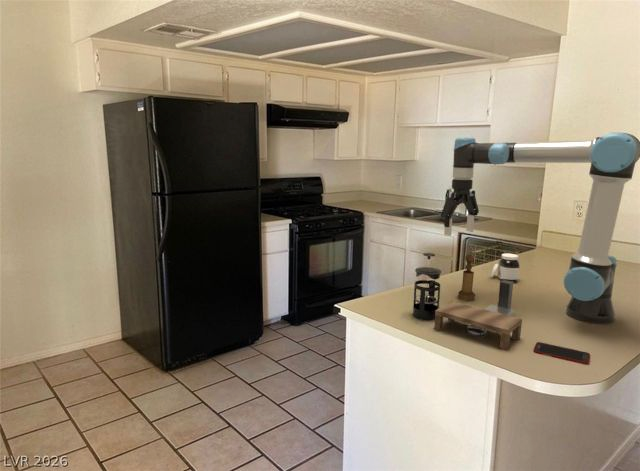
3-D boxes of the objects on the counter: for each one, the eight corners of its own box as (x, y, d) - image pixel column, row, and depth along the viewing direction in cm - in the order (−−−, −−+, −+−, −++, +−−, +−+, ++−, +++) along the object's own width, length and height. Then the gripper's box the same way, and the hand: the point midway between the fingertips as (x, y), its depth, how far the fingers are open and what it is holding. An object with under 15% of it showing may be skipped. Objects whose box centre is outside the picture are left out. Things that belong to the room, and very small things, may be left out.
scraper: (516, 314, 171) (519, 283, 168) (496, 330, 157) (499, 296, 154) (494, 309, 176) (497, 278, 173) (473, 324, 162) (476, 290, 159)
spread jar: (520, 283, 207) (523, 258, 205) (494, 283, 207) (496, 257, 205) (510, 275, 219) (512, 251, 216) (485, 275, 219) (487, 251, 216)
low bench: (520, 338, 151) (522, 319, 149) (506, 350, 142) (508, 330, 141) (450, 318, 166) (451, 301, 165) (434, 328, 157) (435, 310, 156)
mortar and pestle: (475, 302, 183) (479, 257, 180) (458, 300, 184) (461, 256, 181) (473, 296, 190) (477, 253, 186) (457, 295, 191) (460, 252, 187)
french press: (433, 323, 162) (437, 258, 157) (407, 317, 167) (410, 254, 162) (443, 312, 172) (448, 251, 167) (419, 307, 176) (422, 248, 172)
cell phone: (588, 366, 133) (589, 363, 133) (532, 353, 141) (532, 350, 141) (590, 356, 140) (590, 353, 139) (536, 344, 147) (536, 341, 147)
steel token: (488, 333, 154) (489, 328, 154) (481, 339, 150) (481, 333, 150) (471, 328, 158) (471, 323, 158) (463, 334, 154) (463, 328, 153)
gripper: (474, 176, 190) (470, 228, 194) (432, 179, 175) (430, 235, 180) (490, 177, 184) (486, 231, 188) (449, 181, 169) (445, 238, 174)
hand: (459, 233), depth 184 cm, fingers open, 13 cm apart
